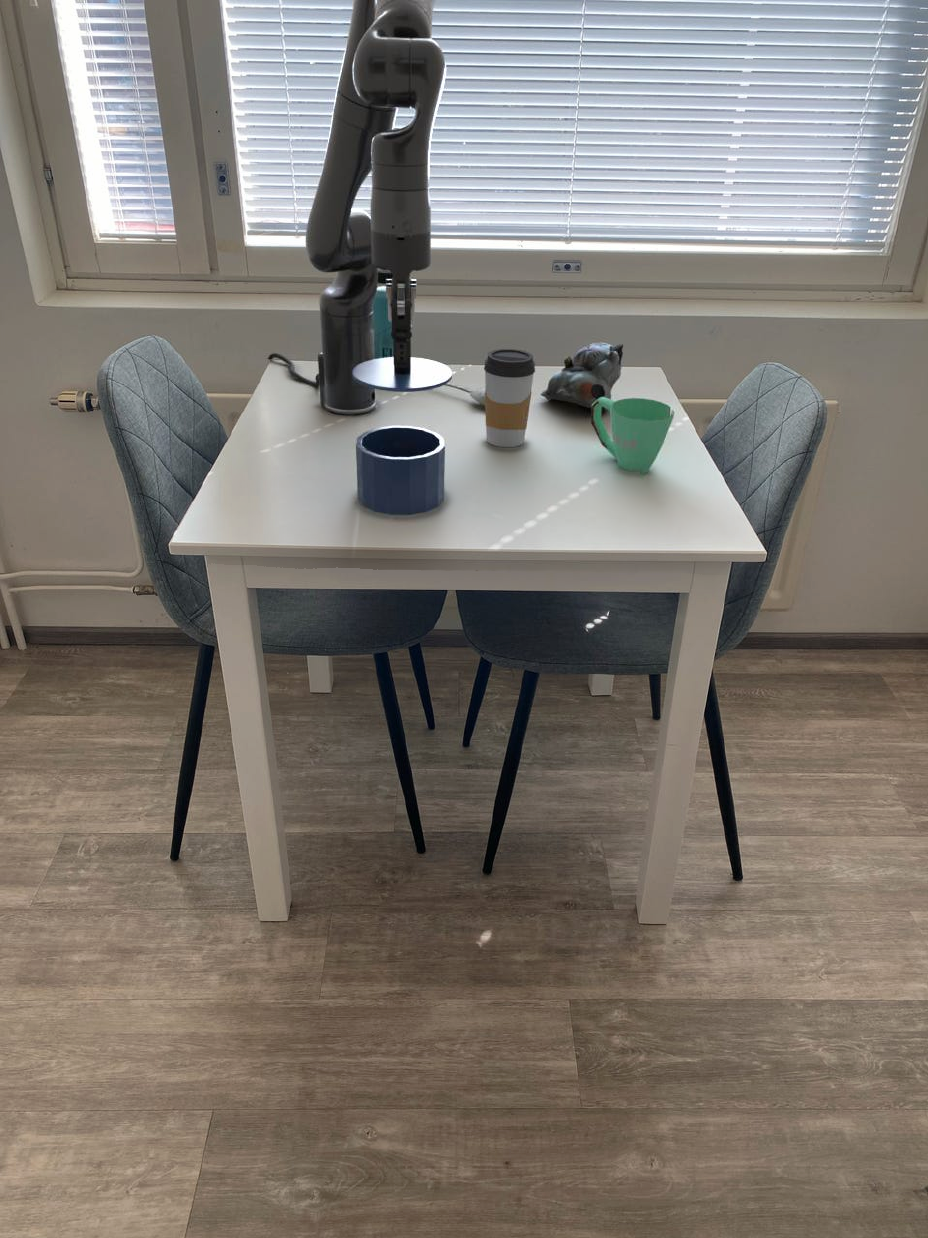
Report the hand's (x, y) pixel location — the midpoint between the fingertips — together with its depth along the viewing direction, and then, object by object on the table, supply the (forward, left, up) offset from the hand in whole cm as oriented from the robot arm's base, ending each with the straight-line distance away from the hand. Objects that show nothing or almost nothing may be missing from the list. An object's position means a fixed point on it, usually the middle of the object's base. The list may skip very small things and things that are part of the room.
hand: (401, 363), depth 122 cm
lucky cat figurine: (+6, +53, -20) cm, 57 cm away
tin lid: (0, 0, -2) cm, 2 cm away
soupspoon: (-16, +44, -20) cm, 51 cm away
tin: (0, 0, -20) cm, 20 cm away
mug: (+23, +31, -20) cm, 43 cm away
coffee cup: (+3, +28, -20) cm, 35 cm away
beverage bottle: (-34, +48, -20) cm, 62 cm away
